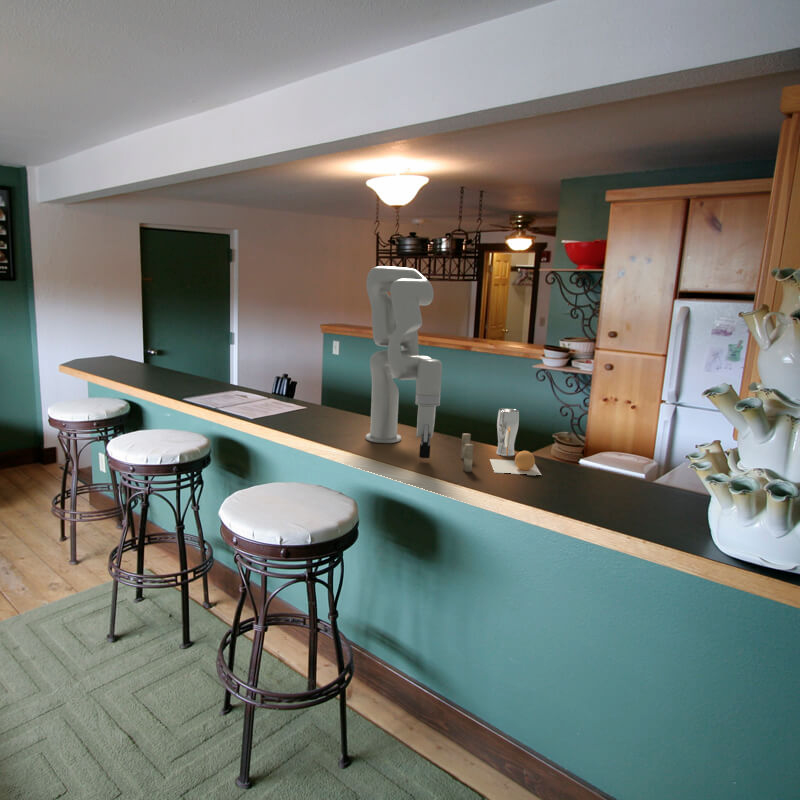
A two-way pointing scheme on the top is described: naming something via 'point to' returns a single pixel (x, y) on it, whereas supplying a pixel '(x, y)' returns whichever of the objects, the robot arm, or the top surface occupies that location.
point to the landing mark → (511, 467)
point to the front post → (468, 458)
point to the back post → (464, 441)
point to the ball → (524, 460)
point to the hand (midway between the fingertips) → (424, 457)
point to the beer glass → (507, 431)
